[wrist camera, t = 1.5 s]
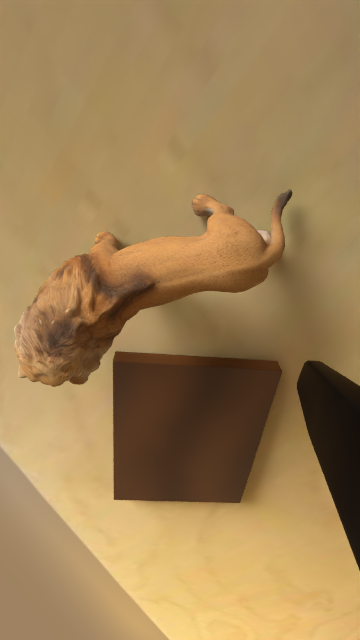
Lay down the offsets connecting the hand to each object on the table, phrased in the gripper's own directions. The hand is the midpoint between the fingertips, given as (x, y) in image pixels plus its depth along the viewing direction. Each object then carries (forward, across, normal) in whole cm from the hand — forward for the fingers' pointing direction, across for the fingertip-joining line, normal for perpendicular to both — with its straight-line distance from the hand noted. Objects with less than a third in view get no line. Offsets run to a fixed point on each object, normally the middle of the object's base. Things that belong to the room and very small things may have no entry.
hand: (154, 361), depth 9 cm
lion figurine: (+12, 0, 0) cm, 12 cm away
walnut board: (+11, -3, +16) cm, 20 cm away
